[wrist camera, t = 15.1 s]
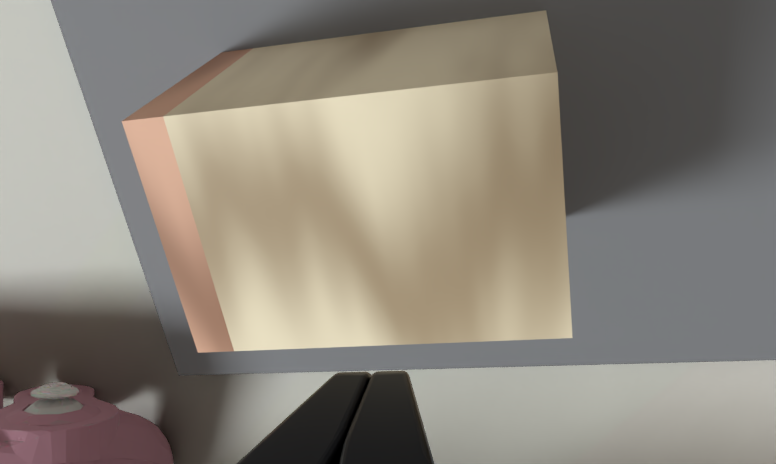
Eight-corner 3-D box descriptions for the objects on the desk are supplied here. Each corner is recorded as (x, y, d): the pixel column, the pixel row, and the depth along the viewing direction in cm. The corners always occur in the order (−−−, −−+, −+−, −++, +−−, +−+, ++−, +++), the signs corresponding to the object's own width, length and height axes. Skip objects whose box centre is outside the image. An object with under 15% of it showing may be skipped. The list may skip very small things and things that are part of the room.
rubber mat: (826, 346, 19) (833, 358, 19) (185, 365, 23) (178, 375, 22) (936, -456, 12) (951, -468, 12) (-17, -242, 16) (-33, -244, 15)
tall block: (572, 338, 14) (197, 352, 15) (558, 218, 18) (269, 239, 19) (557, 72, 11) (121, 121, 13) (546, 10, 16) (221, 52, 17)
